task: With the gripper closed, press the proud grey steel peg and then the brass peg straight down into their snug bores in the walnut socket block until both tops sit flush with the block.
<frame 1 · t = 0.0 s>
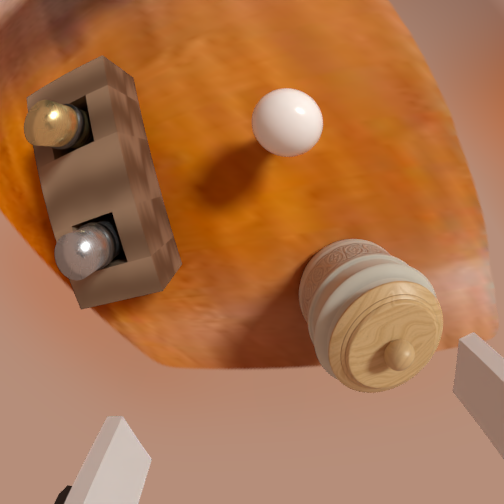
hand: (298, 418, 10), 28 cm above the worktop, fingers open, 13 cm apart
jar: (346, 286, 39), on the worktop
socket block: (117, 180, 35), on the worktop
brass peg: (63, 126, 24), point 10 cm above the worktop, slide at 0.0 cm
lightbulb: (279, 133, 34), on the worktop
steel peg: (93, 246, 27), point 10 cm above the worktop, slide at 0.0 cm
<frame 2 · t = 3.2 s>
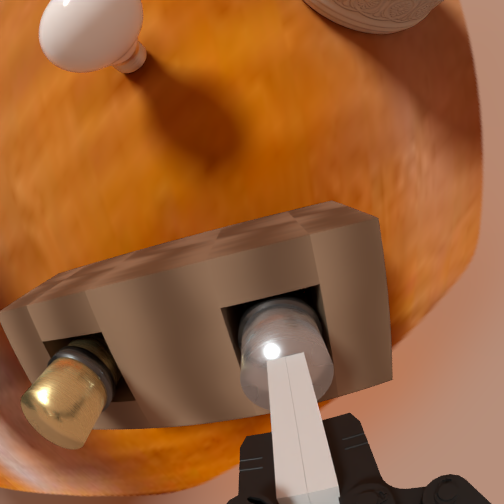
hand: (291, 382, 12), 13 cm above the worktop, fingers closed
socket block: (196, 299, 25), on the worktop
brass peg: (80, 381, 16), point 10 cm above the worktop, slide at 0.0 cm
lightbulb: (134, 61, 20), on the worktop
steel peg: (279, 334, 17), point 8 cm above the worktop, slide at 1.6 cm, touching gripper
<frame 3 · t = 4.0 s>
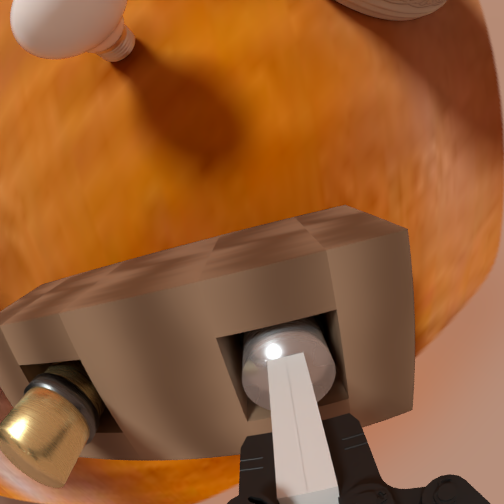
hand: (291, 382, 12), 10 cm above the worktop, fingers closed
socket block: (191, 315, 22), on the worktop
brass peg: (60, 411, 13), point 10 cm above the worktop, slide at 0.0 cm
lightbulb: (122, 49, 18), on the worktop
steel peg: (281, 334, 17), point 5 cm above the worktop, slide at 4.6 cm, touching gripper
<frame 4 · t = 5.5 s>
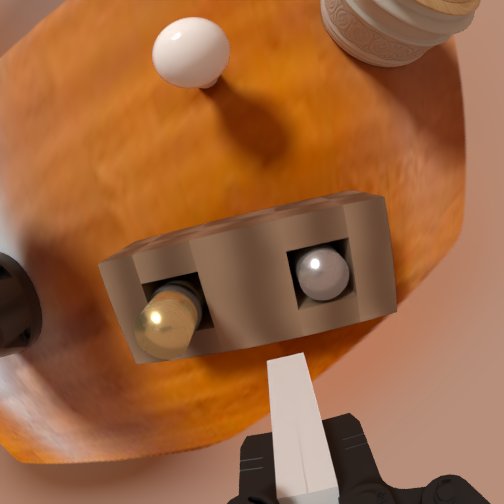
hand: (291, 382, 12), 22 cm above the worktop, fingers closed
jar: (372, 22, 27), on the worktop
socket block: (251, 261, 34), on the worktop
brass peg: (174, 311, 24), point 10 cm above the worktop, slide at 0.0 cm
lightbulb: (206, 79, 29), on the worktop
steel peg: (315, 262, 28), point 5 cm above the worktop, slide at 4.6 cm
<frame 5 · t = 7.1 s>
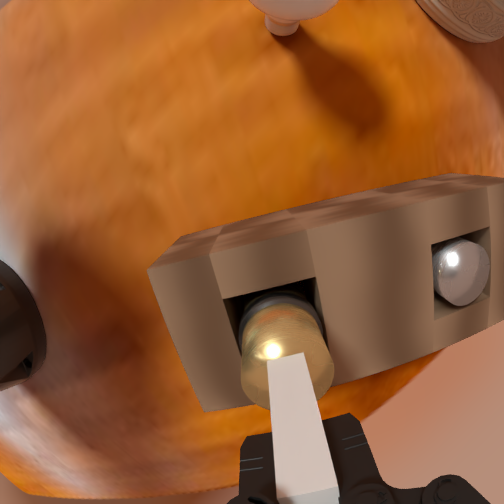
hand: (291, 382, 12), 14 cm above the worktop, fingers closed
socket block: (340, 258, 25), on the worktop
brass peg: (280, 333, 17), point 10 cm above the worktop, slide at 0.5 cm, touching gripper
lightbulb: (280, 26, 21), on the worktop
steel peg: (436, 258, 20), point 5 cm above the worktop, slide at 4.6 cm
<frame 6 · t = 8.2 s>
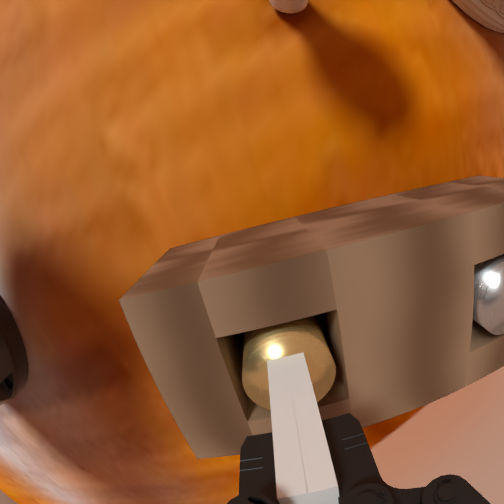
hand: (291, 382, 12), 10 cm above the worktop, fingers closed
socket block: (357, 274, 21), on the worktop
brass peg: (281, 334, 16), point 5 cm above the worktop, slide at 4.6 cm, touching gripper
lightbulb: (287, 4, 17), on the worktop
steel peg: (470, 276, 16), point 5 cm above the worktop, slide at 4.6 cm
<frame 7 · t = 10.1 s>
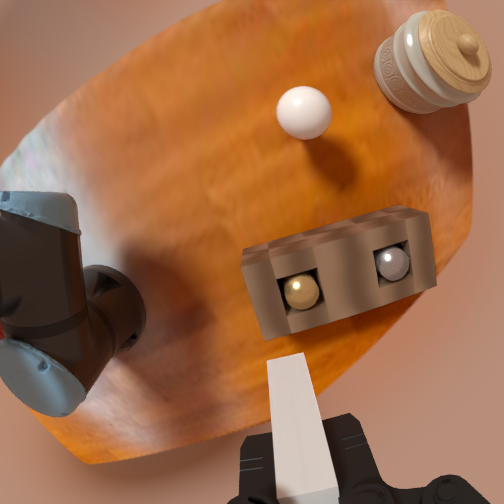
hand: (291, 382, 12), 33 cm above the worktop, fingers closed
jar: (408, 76, 39), on the worktop
socket block: (332, 258, 45), on the worktop
brass peg: (298, 282, 41), point 5 cm above the worktop, slide at 4.6 cm
lightbulb: (295, 123, 41), on the worktop
steel peg: (383, 256, 40), point 5 cm above the worktop, slide at 4.6 cm
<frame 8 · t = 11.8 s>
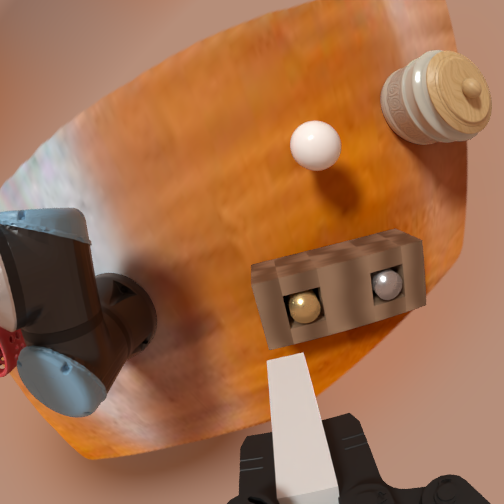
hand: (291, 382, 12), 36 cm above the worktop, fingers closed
plant pot: (17, 323, 53), on the worktop
jar: (412, 107, 43), on the worktop
socket block: (332, 275, 50), on the worktop
brass peg: (301, 298, 45), point 5 cm above the worktop, slide at 4.6 cm
lightbulb: (305, 150, 45), on the worktop
steel peg: (379, 277, 44), point 5 cm above the worktop, slide at 4.6 cm
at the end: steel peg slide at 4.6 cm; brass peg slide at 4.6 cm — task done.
